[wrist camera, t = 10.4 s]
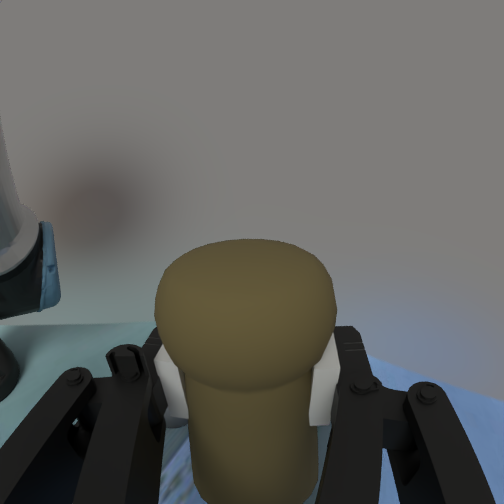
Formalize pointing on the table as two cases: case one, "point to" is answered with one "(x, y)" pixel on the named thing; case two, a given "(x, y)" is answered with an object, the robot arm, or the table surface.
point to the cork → (248, 364)
